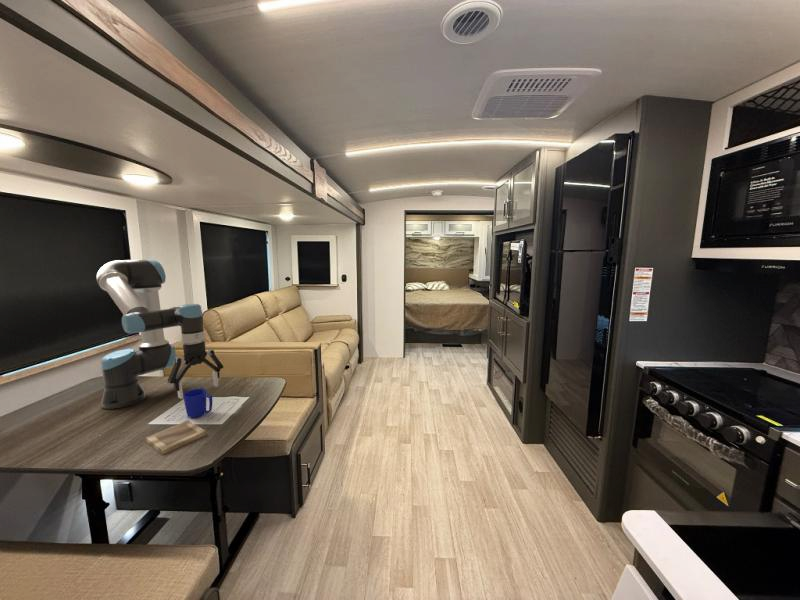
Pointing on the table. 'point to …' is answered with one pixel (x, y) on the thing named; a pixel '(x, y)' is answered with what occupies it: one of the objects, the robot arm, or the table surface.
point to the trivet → (175, 436)
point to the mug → (196, 402)
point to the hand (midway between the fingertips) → (199, 391)
